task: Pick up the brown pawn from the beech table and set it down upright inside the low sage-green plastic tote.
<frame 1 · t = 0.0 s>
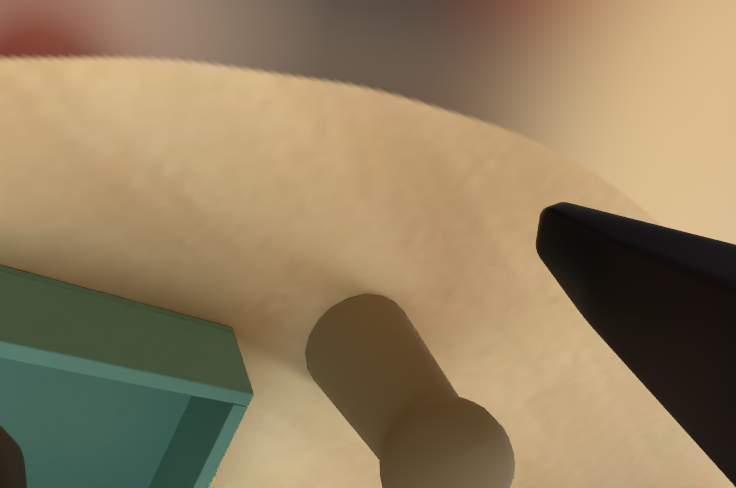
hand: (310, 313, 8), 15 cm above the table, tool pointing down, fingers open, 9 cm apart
tote: (45, 412, 23), on the table
brown pawn: (358, 343, 28), on the table
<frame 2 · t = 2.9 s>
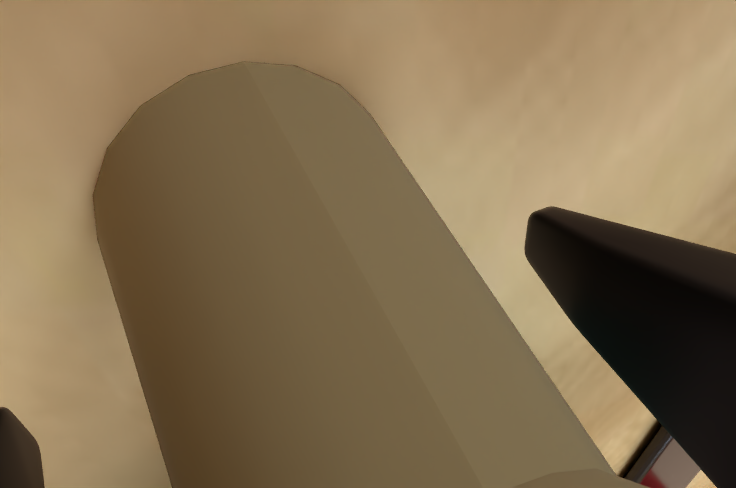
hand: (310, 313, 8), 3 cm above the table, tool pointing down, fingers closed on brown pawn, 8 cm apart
smartphone: (681, 430, 31), on the table
brown pawn: (256, 206, 11), on the table, touching gripper
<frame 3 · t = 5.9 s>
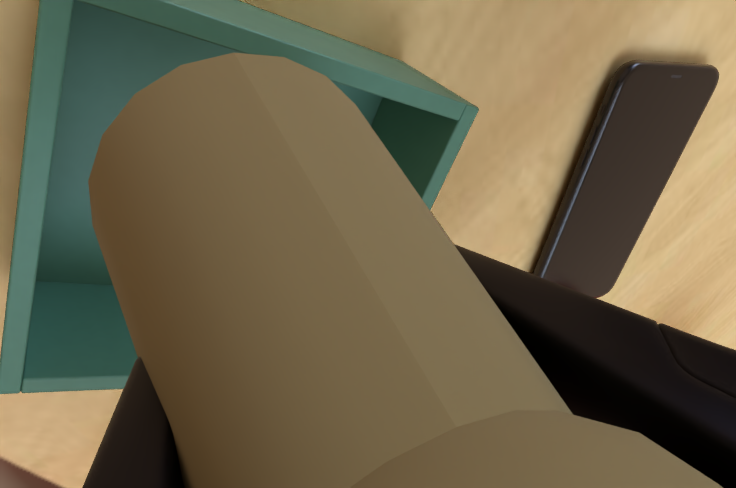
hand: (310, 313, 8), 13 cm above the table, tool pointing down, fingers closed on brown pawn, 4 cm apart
tote: (216, 168, 20), on the table
smartphone: (604, 193, 32), on the table
brown pawn: (246, 193, 11), point 9 cm above the table, touching gripper
when the fingers open (4 cm above the table, at t = 8.6 s): brown pawn stays where it is, resting on tote.
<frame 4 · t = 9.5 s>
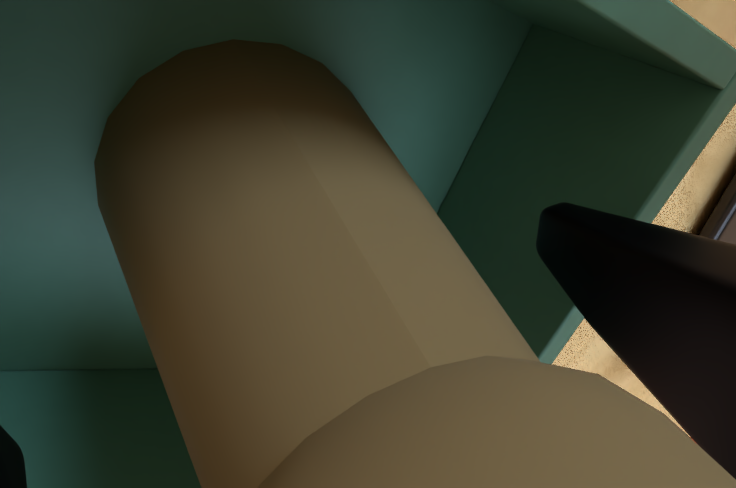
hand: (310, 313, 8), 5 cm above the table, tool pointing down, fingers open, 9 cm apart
tote: (240, 174, 12), on the table
brown pawn: (245, 177, 12), resting on tote
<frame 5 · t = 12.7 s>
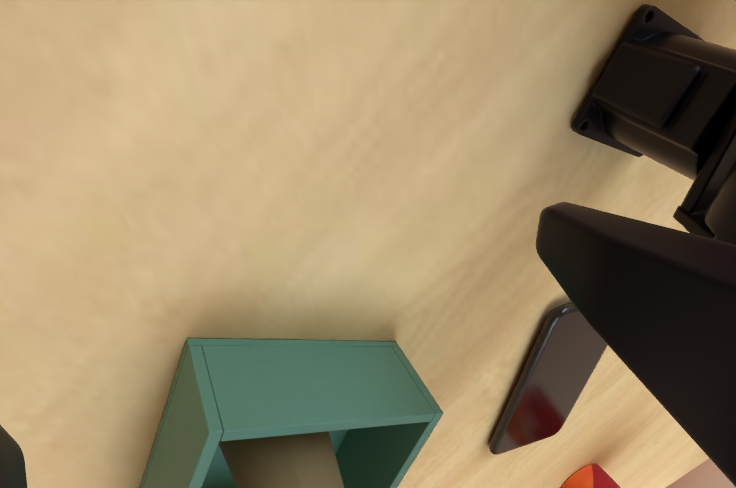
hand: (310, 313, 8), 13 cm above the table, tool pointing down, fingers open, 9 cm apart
tote: (269, 420, 30), on the table
smartphone: (549, 372, 41), on the table
paper cup: (577, 479, 59), on the table
brown pawn: (271, 423, 30), resting on tote
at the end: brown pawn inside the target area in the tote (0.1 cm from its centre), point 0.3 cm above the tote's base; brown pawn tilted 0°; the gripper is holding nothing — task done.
